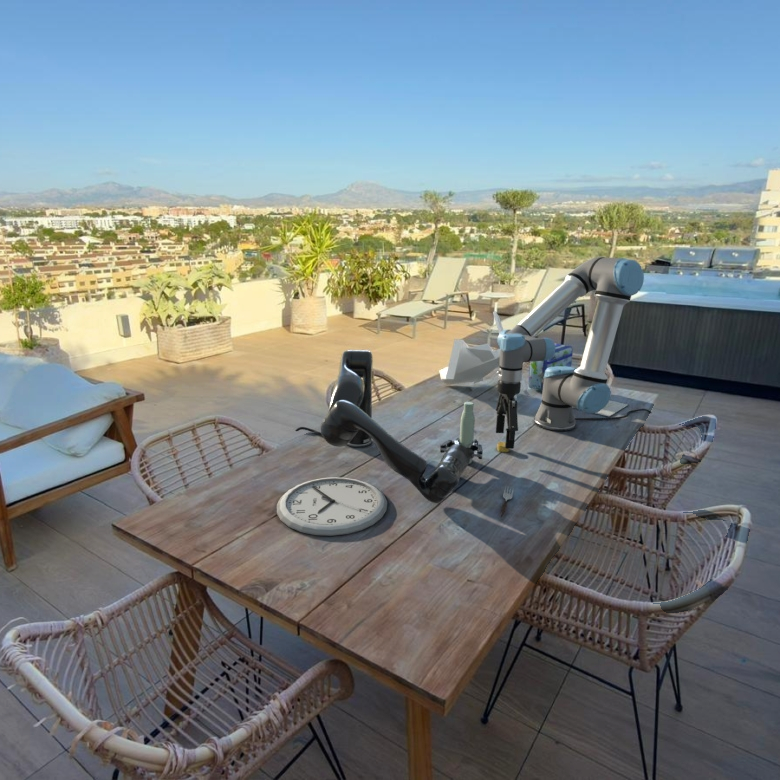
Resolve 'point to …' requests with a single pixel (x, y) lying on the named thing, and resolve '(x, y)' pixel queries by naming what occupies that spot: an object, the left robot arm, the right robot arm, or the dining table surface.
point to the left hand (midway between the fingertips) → (468, 440)
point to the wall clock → (331, 506)
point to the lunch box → (549, 365)
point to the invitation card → (611, 408)
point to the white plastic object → (473, 362)
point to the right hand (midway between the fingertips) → (504, 440)
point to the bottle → (467, 425)
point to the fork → (506, 497)
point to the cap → (502, 447)
